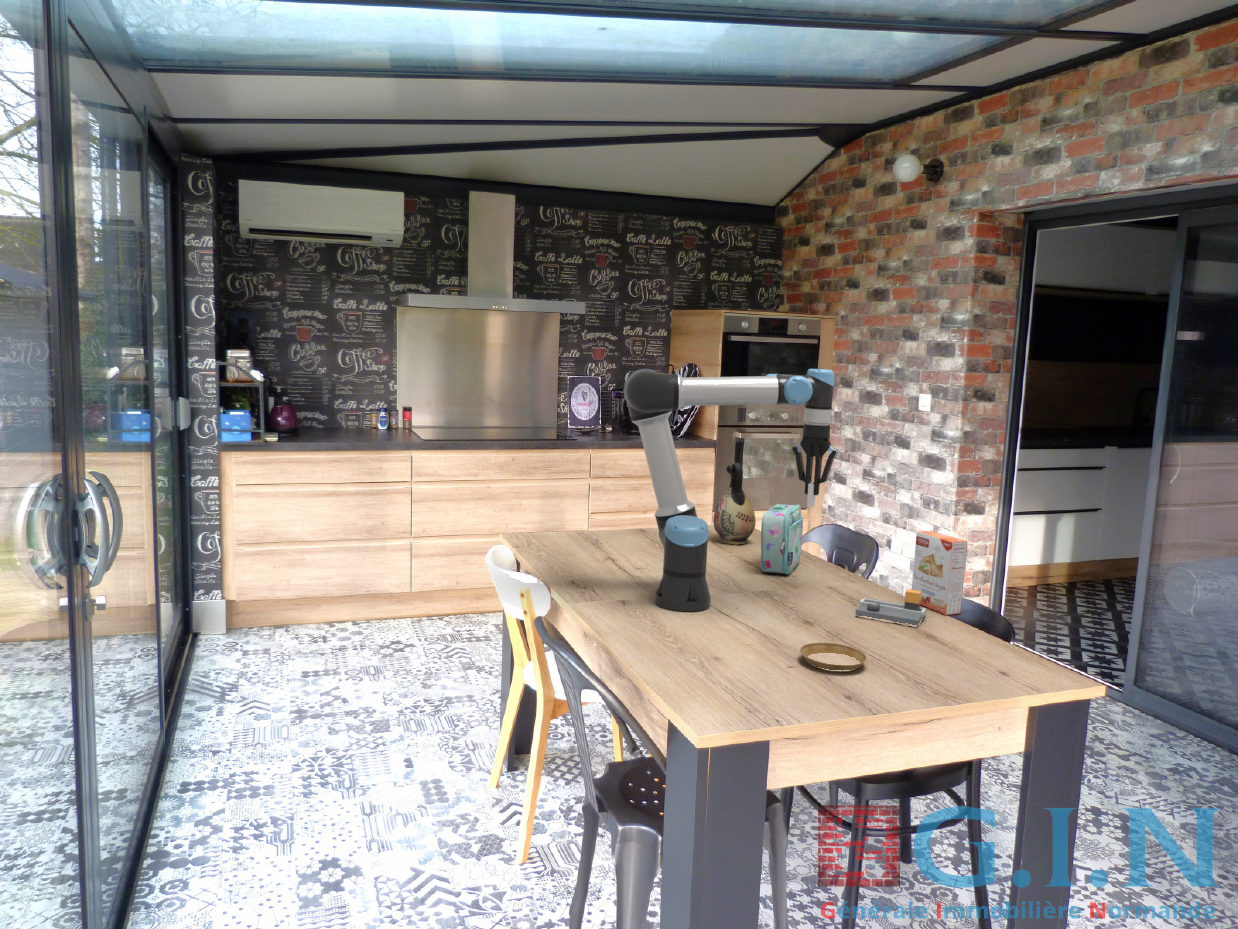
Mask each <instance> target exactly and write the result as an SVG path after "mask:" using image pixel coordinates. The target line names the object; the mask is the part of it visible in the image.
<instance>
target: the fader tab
mask: <svg viewBox="0 0 1238 929" xmlns="http://www.w3.org/2000/svg"><path fill="white" fill-rule="evenodd" d="M921 592H922V591H917V590H912V588H911V589H910V588H907V589H906V590H905V594H904V595H905V596H904V604H905V605H904V609H909V610H915V611H919V610H920V607H921V605H920V601H921Z"/></svg>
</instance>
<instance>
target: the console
mask: <svg viewBox="0 0 1238 929" xmlns="http://www.w3.org/2000/svg"><path fill="white" fill-rule="evenodd" d="M858 605H859V606H858V607H857V608H856V609H855V615H857V616H867V617H872V618H877V619H885V620H890V621H893V622H899V623H908V624H912V625H917V626H918V624H919V623H920V621H921V619H922V618H923V616H924V615H925V613H926V614H927V609H928V608H926V607H924V606H920V610H919V611H915V610H909V609H904V605H905V603H900V602H899V603H898V602H894V601H889V600H888V601H887V600H880V599H876V598H875V599H874V598H870V597H869V598H867V597H866V598H865V597H863V598H862V599H860V600H859V604H858ZM920 624H921V623H920ZM918 627H919V626H918Z"/></svg>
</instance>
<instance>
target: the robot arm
mask: <svg viewBox="0 0 1238 929" xmlns="http://www.w3.org/2000/svg"><path fill="white" fill-rule="evenodd" d="M834 389H835V372H834V371H833V370H832V369H823V368H820V369H819V368H809V369H807V373H806V374H805V375H797V374H784V373H783V374H781V373H768V374H766V375H764V376H763V375H762V376H761V375H760V376H707V377H706V376H705V377H704V376H700V377H698V376H697V377H682V376H681V375H680V374H679V373H664V372H658V371H655V370H653V369H650V368H641V369H640V368H639V369H637V370H635V371H633V372H632V373H630V374H629V375H628V376H627V378H626V380H625V381H624V384H623V397H624V399H625V401H626V404H627V408H628V412H629V417H630V420H631V422H632V423H633V424H634V425H636V426H637V428H638V430H639V434H640V438H641V442H642V446H643V449H644V455H645V458H646V463H647V466H648V471H649V474H650V478H651V479H650V480H651V482H652V487H653V490H654V491H653V492H654V496H655V499H656V502H657V506H658V507H657V509H656V511H655V512H654V516H655V520H656V524H657V528H658V529H657V530H658V538H659V540H660V542H661V544H662V546H663V564H662V565H663V568H662V575H661V576H662V577H661V579H660V581H659V585H658V587H657V589H656V591H655V594H654V596H655V597H654V603H655V604H656V605H657V606H659V608H663V609H666V610H669V611H670V610H671V611H676V612H698V611H699V612H701V611H705V610H707V609H710V607H711V603H712V602H711V600H712V599H711V593H710V590H709V586H708V581H707V578H706V576H707V574H706V573H707V561H708V560H707V559H708V556H707V555H708V540H709V535H710V531H709V525H708V523H707V522H706V521H705V520H704V519H702V518H699V517H698V515H697V509H696V506H695V504H694V503H693V502H691V501H690V500H688V496H687V491H686V488H685V484H684V480H683V474H682V470H681V466H680V463H679V459H678V454H677V451H676V446H675V443H674V438H673V434H672V430H671V426H670V423H669V417H670V416H671V414H672V412H673V411H679V410H680V409H681V408H682V407H694V406H695V407H697V406H699V407H700V406H703V407H704V406H705V407H706V406H742V405H743V406H745V405H746V406H749V405H752V406H753V405H755V406H756V405H793V406H800V405H804V412H803V414H804V415H803V422H804V424H803V426H802V427H803V429H802V439H801V440H800V443H799V444H797V445H796V446H792V449H791V450H792V452H793V453H794V455H795V462H796V469H797V475H798V479H799V481H802V482H804V494H805V495H807V498H806V499H807V500H806V507H807V508H808V507H809V508H813V507H815V504H816V496H819V494H820V485H821V484H823V483H826V482H827V481H828V478H829V475H830V472H831V468H832V465H833V463H834V460H835V457H837V455H838V454H839V450H838V449H834V448H833V447H832V444H831V441H830V439H831V425H830V424H831V423H832V415H833V414H832V413H833V412H832V411H833V400H834ZM802 451H803V452H804V453H805V455H806V456H805V457H806V458H805V459H806V465H805V464H804V460H803V454H802ZM826 454H828V456H827V459H826V461H825V465H824V467H823V471H822V466H823V464H822V463H823V459H824V458H823V457H824V455H826ZM814 462H815V463H814ZM813 465H814V476H813ZM804 466H805V467H804ZM812 476H813V477H812ZM812 479H813V480H812ZM704 609H705V610H704Z"/></svg>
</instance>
